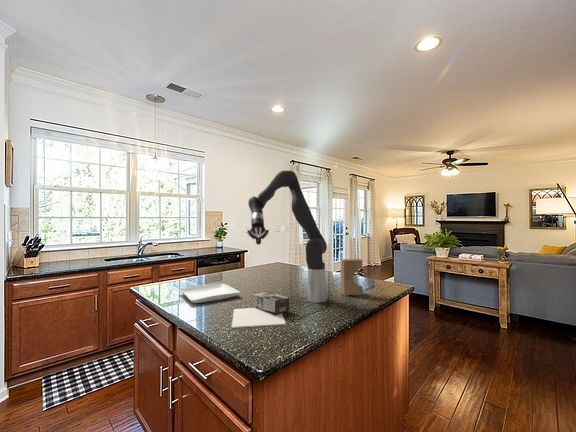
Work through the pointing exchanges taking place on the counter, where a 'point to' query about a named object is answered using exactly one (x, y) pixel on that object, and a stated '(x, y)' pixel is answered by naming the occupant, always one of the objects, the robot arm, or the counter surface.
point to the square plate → (209, 293)
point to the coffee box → (271, 303)
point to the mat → (255, 318)
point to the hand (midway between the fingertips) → (258, 243)
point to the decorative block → (350, 277)
